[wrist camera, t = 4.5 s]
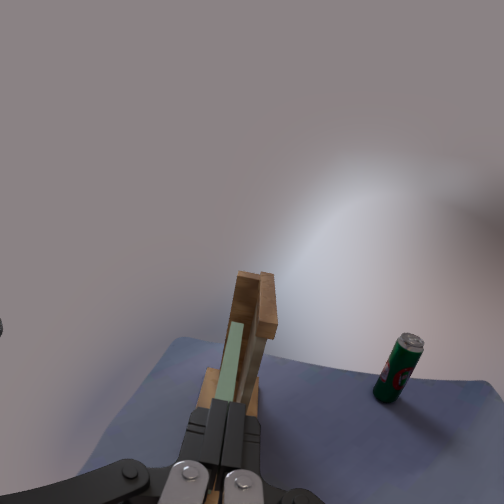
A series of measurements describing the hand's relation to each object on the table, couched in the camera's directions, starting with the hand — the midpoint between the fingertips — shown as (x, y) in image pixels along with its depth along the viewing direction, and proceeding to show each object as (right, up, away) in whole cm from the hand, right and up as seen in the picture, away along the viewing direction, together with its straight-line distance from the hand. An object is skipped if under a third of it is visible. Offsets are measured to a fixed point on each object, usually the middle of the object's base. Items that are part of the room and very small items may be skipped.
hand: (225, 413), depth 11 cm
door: (-4, -15, +14) cm, 21 cm away
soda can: (+24, -18, +31) cm, 43 cm away
